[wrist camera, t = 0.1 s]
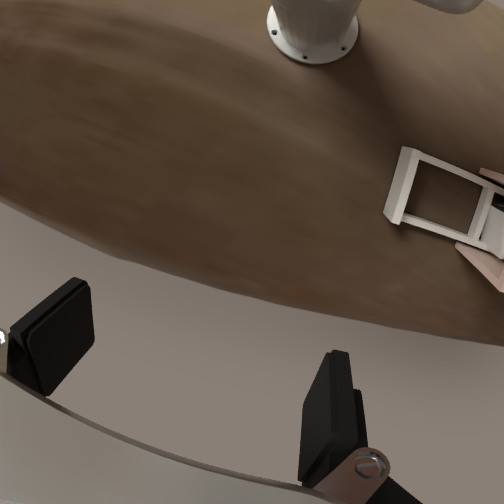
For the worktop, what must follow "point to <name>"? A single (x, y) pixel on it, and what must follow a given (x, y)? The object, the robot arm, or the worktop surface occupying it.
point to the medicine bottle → (494, 229)
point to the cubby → (485, 262)
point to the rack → (396, 214)
